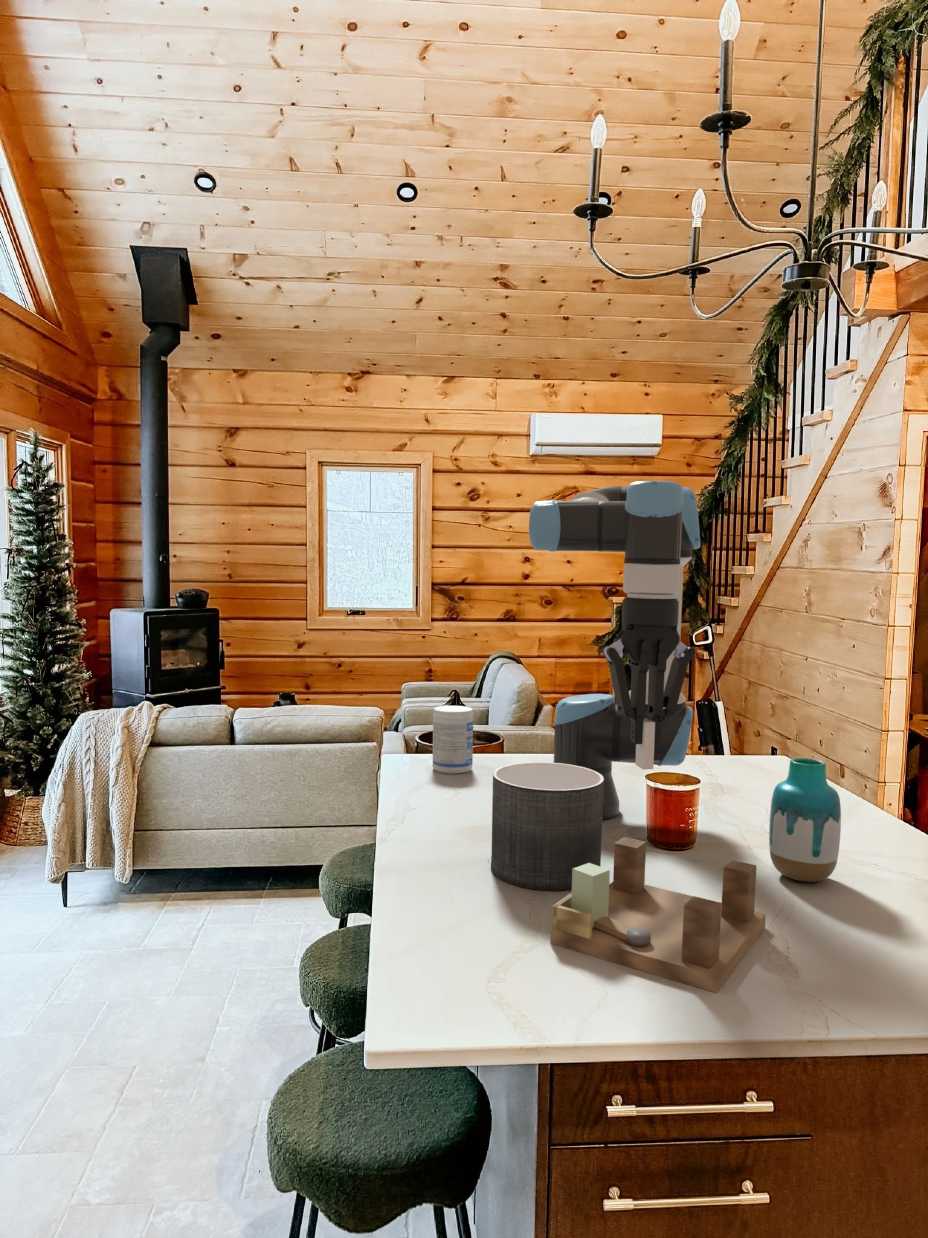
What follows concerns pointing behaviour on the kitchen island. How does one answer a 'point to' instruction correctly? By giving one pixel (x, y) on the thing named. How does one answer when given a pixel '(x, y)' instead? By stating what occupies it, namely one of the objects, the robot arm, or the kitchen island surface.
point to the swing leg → (601, 903)
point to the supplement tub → (452, 739)
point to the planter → (545, 823)
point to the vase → (805, 823)
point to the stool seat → (668, 923)
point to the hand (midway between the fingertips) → (644, 766)
